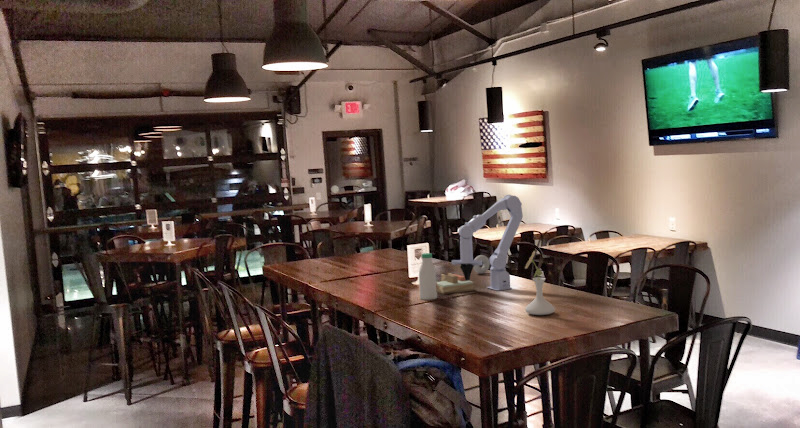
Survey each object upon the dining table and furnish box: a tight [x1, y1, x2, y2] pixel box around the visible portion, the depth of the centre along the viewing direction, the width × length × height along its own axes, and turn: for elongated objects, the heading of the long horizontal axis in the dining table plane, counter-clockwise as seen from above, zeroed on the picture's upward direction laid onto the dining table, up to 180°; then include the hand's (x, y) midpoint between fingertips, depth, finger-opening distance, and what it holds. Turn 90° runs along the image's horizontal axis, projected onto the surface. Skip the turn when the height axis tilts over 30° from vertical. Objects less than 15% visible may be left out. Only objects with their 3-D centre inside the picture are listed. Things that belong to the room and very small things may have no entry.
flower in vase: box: [524, 250, 556, 316], centre depth 260 cm, size 13×11×25 cm
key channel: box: [440, 272, 452, 281], centre depth 330 cm, size 13×5×5 cm, turn 24°
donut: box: [473, 254, 491, 275], centre depth 359 cm, size 10×4×10 cm, turn 116°
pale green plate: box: [437, 273, 474, 287], centre depth 317 cm, size 10×15×4 cm
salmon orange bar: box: [451, 273, 465, 281], centre depth 324 cm, size 10×2×2 cm, turn 24°
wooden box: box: [437, 282, 475, 295], centre depth 317 cm, size 11×16×3 cm
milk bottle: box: [418, 252, 438, 301], centre depth 300 cm, size 8×8×20 cm
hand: (467, 280), depth 316 cm, fingers closed
